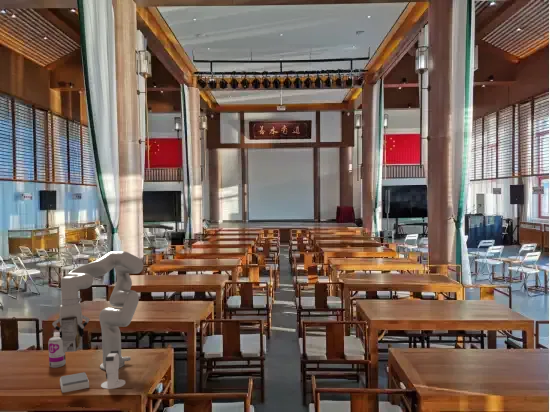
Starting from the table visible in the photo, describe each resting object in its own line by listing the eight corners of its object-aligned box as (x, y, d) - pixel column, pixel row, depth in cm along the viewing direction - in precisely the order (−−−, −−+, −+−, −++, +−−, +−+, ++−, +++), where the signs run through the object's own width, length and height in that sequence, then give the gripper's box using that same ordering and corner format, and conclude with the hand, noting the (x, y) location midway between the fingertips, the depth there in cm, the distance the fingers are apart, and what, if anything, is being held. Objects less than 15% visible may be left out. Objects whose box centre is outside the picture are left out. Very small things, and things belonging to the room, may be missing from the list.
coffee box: (68, 346, 248) (67, 313, 247) (82, 345, 248) (80, 313, 248) (62, 352, 239) (60, 318, 238) (76, 351, 239) (74, 317, 239)
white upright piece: (104, 380, 250) (103, 350, 250) (128, 378, 251) (126, 349, 251) (98, 389, 238) (96, 358, 238) (122, 388, 239) (121, 356, 239)
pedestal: (86, 379, 252) (85, 371, 252) (89, 387, 241) (88, 379, 241) (60, 384, 246) (59, 376, 246) (62, 392, 236) (61, 384, 236)
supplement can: (59, 368, 270) (58, 340, 270) (46, 367, 272) (44, 340, 271) (68, 363, 278) (67, 336, 278) (55, 362, 280) (54, 335, 279)
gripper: (88, 298, 250) (90, 332, 251) (50, 302, 242) (51, 338, 243) (90, 300, 243) (91, 336, 244) (50, 305, 235) (52, 342, 236)
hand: (71, 337), depth 243 cm, fingers closed on coffee box, 8 cm apart
